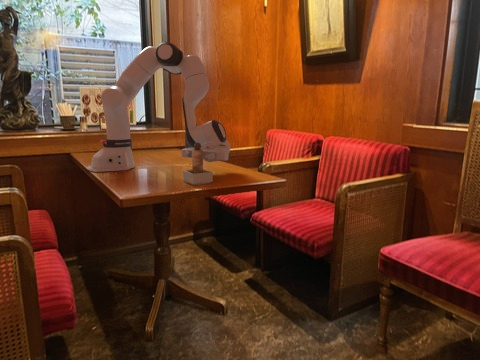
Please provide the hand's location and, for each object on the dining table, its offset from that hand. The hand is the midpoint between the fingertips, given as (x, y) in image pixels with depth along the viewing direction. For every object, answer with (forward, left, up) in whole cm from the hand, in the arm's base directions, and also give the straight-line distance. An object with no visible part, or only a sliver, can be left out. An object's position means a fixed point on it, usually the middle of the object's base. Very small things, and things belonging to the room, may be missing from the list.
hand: (196, 156), depth 151 cm
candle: (+34, +70, -11) cm, 78 cm away
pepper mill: (+1, +1, -10) cm, 10 cm away
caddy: (+1, +1, -11) cm, 11 cm away
